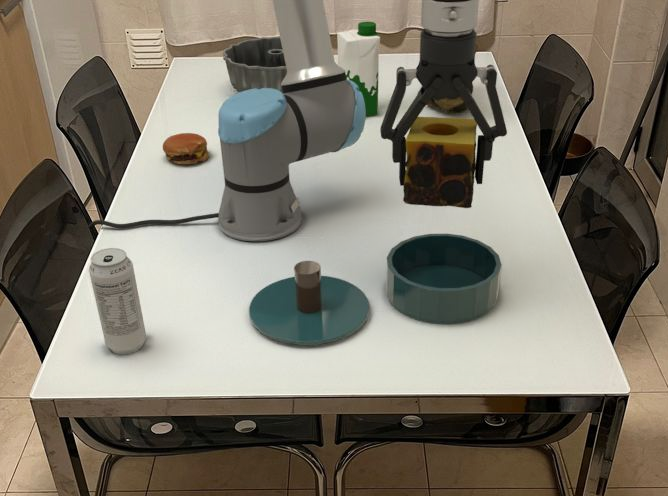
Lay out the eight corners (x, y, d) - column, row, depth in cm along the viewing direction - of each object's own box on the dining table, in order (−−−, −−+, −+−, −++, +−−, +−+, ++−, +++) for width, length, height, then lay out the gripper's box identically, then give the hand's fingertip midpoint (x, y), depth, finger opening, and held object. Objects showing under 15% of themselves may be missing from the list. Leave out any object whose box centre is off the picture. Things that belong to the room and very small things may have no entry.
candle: (471, 210, 121) (476, 144, 115) (402, 205, 123) (403, 141, 117) (475, 180, 129) (480, 118, 123) (410, 176, 131) (412, 114, 125)
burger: (173, 147, 183) (170, 127, 180) (214, 149, 182) (211, 129, 179) (158, 166, 175) (155, 145, 173) (201, 168, 174) (199, 147, 171)
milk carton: (382, 116, 196) (383, 28, 184) (346, 121, 194) (344, 32, 182) (370, 103, 202) (370, 18, 191) (334, 108, 200) (332, 22, 189)
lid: (244, 348, 123) (239, 302, 118) (254, 282, 137) (250, 238, 133) (370, 347, 122) (371, 300, 117) (367, 280, 137) (367, 236, 132)
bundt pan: (287, 67, 226) (285, 29, 220) (351, 91, 210) (351, 50, 204) (206, 90, 213) (201, 50, 207) (267, 117, 196) (264, 75, 191)
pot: (389, 325, 127) (389, 291, 123) (384, 265, 141) (384, 234, 137) (505, 323, 126) (509, 290, 123) (488, 264, 140) (492, 232, 137)
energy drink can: (149, 331, 127) (133, 244, 118) (144, 355, 122) (127, 266, 113) (109, 333, 126) (90, 246, 118) (103, 357, 122) (82, 268, 113)
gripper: (363, 39, 109) (363, 193, 122) (540, 34, 109) (522, 190, 122) (361, 23, 115) (362, 172, 128) (530, 19, 115) (513, 169, 128)
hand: (440, 181), depth 125 cm, fingers closed on candle, 11 cm apart
